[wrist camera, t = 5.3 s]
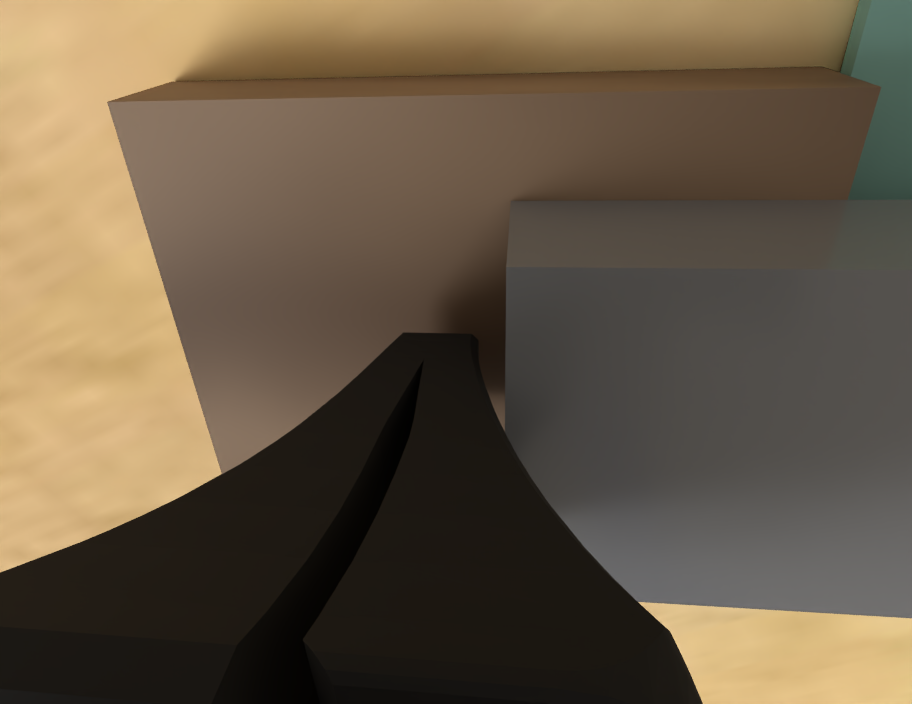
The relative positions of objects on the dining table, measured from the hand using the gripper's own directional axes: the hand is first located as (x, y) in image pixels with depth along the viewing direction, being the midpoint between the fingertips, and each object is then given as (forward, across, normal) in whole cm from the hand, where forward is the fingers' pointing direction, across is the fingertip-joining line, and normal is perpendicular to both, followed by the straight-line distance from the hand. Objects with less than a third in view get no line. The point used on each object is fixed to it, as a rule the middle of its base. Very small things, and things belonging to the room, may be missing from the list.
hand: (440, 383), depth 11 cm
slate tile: (+1, -6, 0) cm, 6 cm away
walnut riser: (+3, 0, 0) cm, 3 cm away
